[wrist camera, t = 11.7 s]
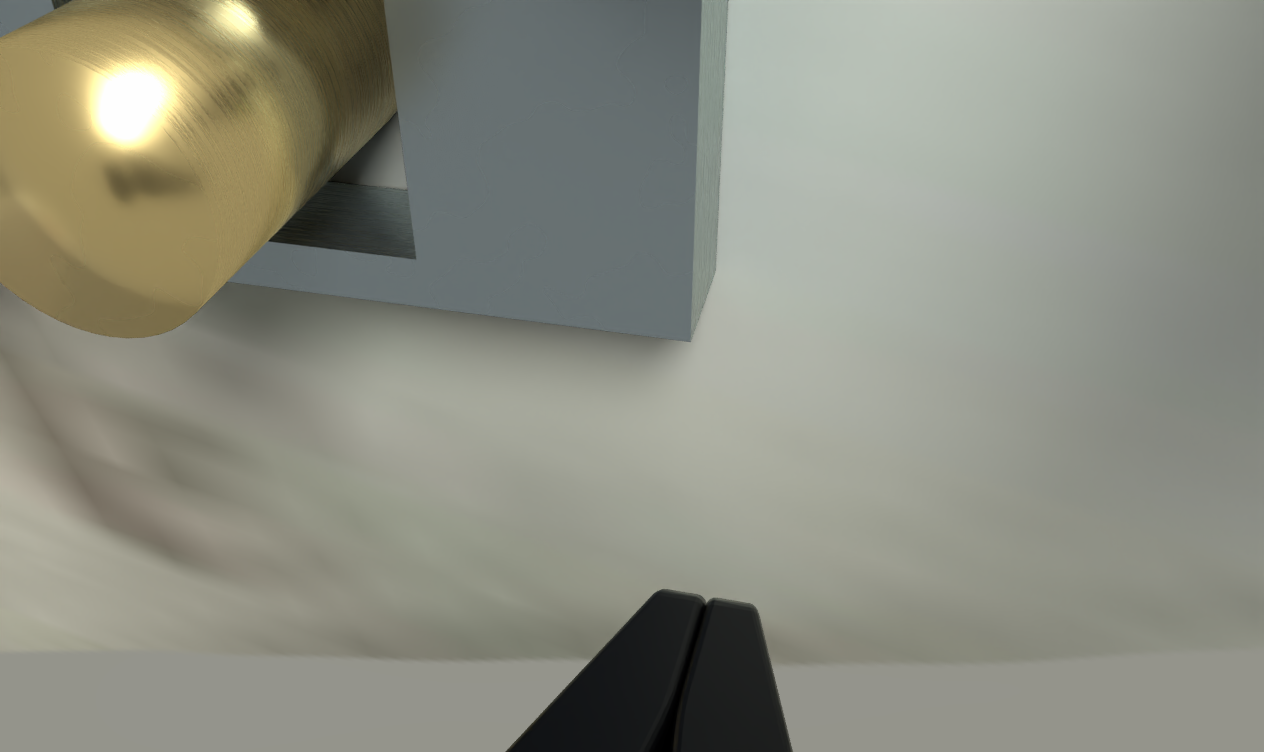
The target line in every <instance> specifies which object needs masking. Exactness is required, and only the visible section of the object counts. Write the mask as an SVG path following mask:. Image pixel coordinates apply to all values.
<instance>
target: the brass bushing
mask: <svg viewBox="0 0 1264 752" xmlns="http://www.w3.org/2000/svg"><path fill="white" fill-rule="evenodd" d="M396 111H397V102H396V94H395V86H394V79H393V71H392V63H391V55H390V47H389V39H388V31H387V24H386V16H385V8H384V0H72V1H70V2H68V3H67V4H65V5H63V6H61V7H59V8H57V9H55V10H53V11H51V12H49V13H47V14H45V15H43V16H41V17H39V18H37V19H35V20H34V21H32V22H30V23H28V24H26V25H24V26H22V27H20V28H18V29H16V30H14V31H12V32H10V33H8V34H6V35H4V36H2V37H1V38H0V282H1V283H2V284H3V285H4V286H5V287H6V288H8V289H9V290H10V291H12V292H13V293H14V294H16V295H17V296H18V297H20V298H21V299H22V300H24V301H25V302H27V303H28V304H30V305H32V306H33V307H35V308H36V309H38V310H39V311H41V312H43V313H45V314H47V315H49V316H51V317H53V318H54V319H56V320H58V321H61V322H63V323H66V324H68V325H70V326H73V327H75V328H78V329H81V330H85V331H88V332H91V333H95V334H100V335H104V336H109V337H120V338H143V337H149V336H154V335H159V334H162V333H165V332H167V331H170V330H173V329H174V328H176V327H178V326H180V325H181V324H183V323H185V322H186V321H187V320H188V319H189V318H191V317H192V316H193V315H194V314H195V313H196V312H197V311H198V310H199V309H200V308H201V307H202V306H203V305H204V304H205V303H206V302H207V301H208V300H209V299H210V298H211V297H212V296H213V295H214V294H215V293H216V292H217V291H218V290H219V289H220V288H221V287H222V286H223V285H224V284H225V283H226V282H227V281H228V280H229V279H230V278H231V277H232V276H233V275H234V274H235V273H236V272H237V271H238V270H239V269H240V268H241V267H242V266H243V265H244V264H245V263H246V262H247V261H248V260H249V259H250V258H251V257H252V256H253V255H254V254H255V253H256V252H257V251H258V250H259V249H260V248H261V247H262V246H263V245H264V244H265V243H266V242H267V241H268V240H269V239H270V238H271V237H272V236H273V235H274V234H275V233H276V232H277V231H278V230H279V229H280V228H281V227H282V226H283V225H284V224H285V223H286V222H287V221H288V220H289V219H290V218H291V217H292V216H293V215H294V214H295V213H296V212H297V211H298V210H299V209H300V208H301V207H302V206H303V205H305V204H306V203H307V202H308V201H309V200H310V199H311V198H312V197H313V196H314V195H315V194H316V193H317V192H318V191H319V190H320V189H321V188H322V187H323V186H324V185H325V184H326V183H327V182H328V181H329V180H330V179H331V178H332V177H333V176H334V175H335V174H336V173H337V172H338V171H339V170H340V169H341V168H342V167H343V166H344V165H345V164H346V163H347V162H348V161H349V160H350V159H351V158H352V157H353V156H354V155H355V154H356V153H357V152H358V151H359V150H360V149H361V148H362V147H363V146H364V145H365V144H366V143H367V142H368V141H369V140H370V139H371V138H372V137H373V136H374V135H375V134H376V133H377V132H378V131H379V130H380V129H381V128H382V127H383V126H384V125H385V124H386V123H387V122H388V121H389V120H390V119H391V117H392V116H393V115H394V114H395V112H396Z"/></svg>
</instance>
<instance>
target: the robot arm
mask: <svg viewBox="0 0 1264 752" xmlns="http://www.w3.org/2000/svg"><path fill="white" fill-rule="evenodd" d="M506 752H793V751H792V747H791V743H790V739H789V734H788V730H787V726H786V722H785V718H784V714H783V710H782V706H781V702H780V698H779V694H778V690H777V686H776V682H775V677H774V673H773V669H772V665H771V661H770V657H769V653H768V649H767V645H766V641H765V637H764V633H763V628H762V624H761V620H760V616H759V613H758V610H757V609H756V607H755V606H754V605H753V604H750V603H745V602H739V601H733V600H727V599H721V598H712V599H710V600H709V601H708V602H707V603H706V601H705V599H704V598H703V597H702V596H700V595H698V594H692V593H686V592H680V591H674V590H668V589H662V590H659V591H657V592H655V593H654V594H653V595H652V596H651V597H650V598H649V599H648V600H647V601H646V602H645V603H644V605H643V606H642V607H641V608H640V609H639V610H638V611H637V612H636V613H635V614H634V615H633V616H632V617H631V618H630V619H629V621H628V622H627V623H626V624H625V625H624V626H623V627H622V628H621V629H620V630H619V631H618V632H617V633H616V634H615V635H614V637H613V638H612V639H611V640H610V641H609V642H608V643H607V644H606V645H605V646H604V647H603V648H602V649H601V650H600V651H599V653H598V654H597V655H596V656H595V657H594V658H593V659H592V660H591V661H590V662H589V663H588V664H587V665H586V666H585V667H584V669H583V670H582V671H581V672H580V673H579V674H578V675H577V676H576V677H575V678H574V679H573V680H572V682H570V683H569V685H568V686H567V687H566V688H565V689H564V690H563V691H562V692H561V693H560V694H559V695H558V696H557V697H556V698H555V699H554V701H553V702H552V703H551V704H550V705H549V706H548V707H547V708H546V709H545V710H544V711H543V712H542V713H541V714H540V715H539V717H538V718H537V719H536V720H535V721H534V722H533V723H532V724H531V725H530V726H529V727H528V728H527V730H525V732H524V733H523V734H522V735H521V736H520V737H519V738H518V739H517V740H516V741H515V742H514V743H513V744H512V745H511V746H510V748H509V749H508V750H507V751H506Z"/></svg>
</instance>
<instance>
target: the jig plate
mask: <svg viewBox="0 0 1264 752" xmlns="http://www.w3.org/2000/svg"><path fill="white" fill-rule="evenodd" d="M70 1H72V0H0V38H1V37H2V36H4V35H6V34H8V33H10V32H12V31H14V30H16V29H18V28H20V27H22V26H24V25H26V24H28V23H30V22H32V21H34V20H35V19H37V18H39V17H41V16H43V15H45V14H47V13H49V12H51V11H53V10H55V9H57V8H59V7H61V6H63V5H65V4H67V3H68V2H70ZM384 8H385V16H386V24H387V31H388V39H389V47H390V55H391V63H392V71H393V79H394V86H395V94H396V102H397V110H398V118H399V126H400V134H401V141H402V149H403V157H404V165H405V173H406V181H407V189H408V190H400V189H391V188H382V187H373V186H364V185H355V184H346V183H337V182H327V183H326V184H325V185H324V186H323V187H322V188H321V189H320V190H319V191H318V192H317V193H316V194H315V195H314V196H313V197H312V198H311V199H310V200H309V201H308V202H307V203H306V204H305V205H303V206H302V207H301V208H300V209H299V210H298V211H297V212H296V213H295V214H294V215H293V216H292V217H291V218H290V219H289V220H288V221H287V222H286V223H285V224H284V225H283V226H282V227H281V228H280V229H279V230H278V231H277V232H276V233H275V234H274V235H273V236H272V237H271V238H270V239H269V240H268V241H267V242H266V243H265V244H264V245H263V246H262V247H261V248H260V249H259V250H258V251H257V252H256V253H255V254H254V255H253V256H252V257H251V258H250V259H249V260H248V261H247V262H246V263H245V264H244V265H243V266H242V267H241V268H240V269H239V270H238V271H237V272H236V273H235V274H234V275H233V276H232V277H231V278H230V279H229V280H228V281H227V282H234V283H242V284H249V285H257V286H265V287H272V288H280V289H288V290H295V291H303V292H311V293H318V294H326V295H334V296H341V297H349V298H357V299H364V300H372V301H380V302H387V303H395V304H403V305H411V306H418V307H426V308H434V309H441V310H449V311H457V312H464V313H472V314H480V315H487V316H495V317H503V318H510V319H518V320H526V321H533V322H541V323H549V324H556V325H564V326H572V327H579V328H587V329H595V330H602V331H610V332H618V333H625V334H633V335H641V336H648V337H656V338H664V339H671V340H679V341H687V342H691V340H692V337H693V334H694V331H695V328H696V325H697V322H698V320H699V317H700V314H701V311H702V308H703V305H704V302H705V299H706V297H707V294H708V291H709V288H710V285H711V282H712V279H713V277H714V274H715V271H716V250H717V228H718V207H719V185H720V163H721V141H722V120H723V98H724V76H725V54H726V33H727V11H728V0H384Z"/></svg>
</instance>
